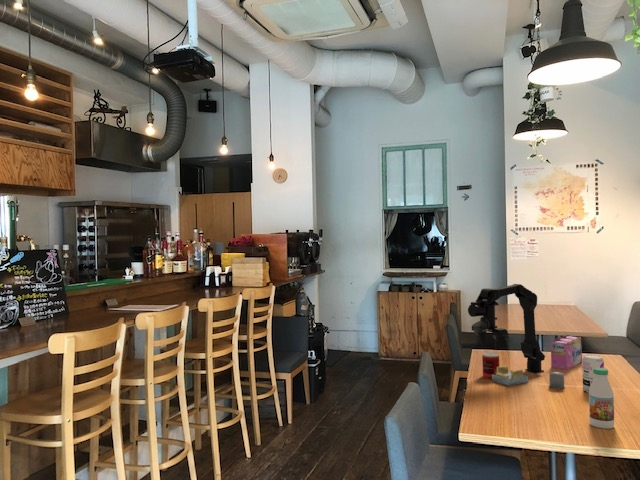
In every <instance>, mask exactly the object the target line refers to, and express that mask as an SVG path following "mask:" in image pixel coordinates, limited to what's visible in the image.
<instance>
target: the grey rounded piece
mask: <svg viewBox="0 0 640 480" xmlns="http://www.w3.org/2000/svg"><path fill="white" fill-rule="evenodd" d="M548 374H549V377H548V378H549V380H548V381H549V388H552V389H554V390H555V389H556V390H563V389H565V373H563V372H560V371H550V372H549V373H548Z"/></svg>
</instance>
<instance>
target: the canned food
mask: <svg viewBox="0 0 640 480" xmlns="http://www.w3.org/2000/svg"><path fill="white" fill-rule="evenodd" d="M481 358H482V360H481V361H482V376H483V378H485V379H489V380H492V374H496V372H497V367H500V354H499V353H496V352H490V351H489V352H483V353H482V357H481Z"/></svg>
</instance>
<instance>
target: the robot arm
mask: <svg viewBox="0 0 640 480" xmlns="http://www.w3.org/2000/svg"><path fill="white" fill-rule="evenodd" d="M513 294H514V296H515V297H516V298H517V299H518V301H519V306H520V307H521V308H522V311H523V312H522V313H523V324H524V325H523V327H524V328H523V329H524V340H523V341H521V342H520V350H521V352H522V355H523V357H524V359H526V368H525V369H524V371H527V372H529V373H532V374H533V373H534V374H538V373H543V372H545V371H544V370H543V369H542V361H545V358H546V355H545V353H543V352H542V350H541V346H540V343H539V342H538V340H537V338H536V336H537V335H536V321H535V309H536V307H537V306H538V295H537V294H536V293H535V292H533V291H531V290H530V289H528V288H526V287H525V286H524V285H523V284H520V283H513V284H510V285H506V286H502V287H498V288H482V289H481V290H480V293H479V294H478V295H477V298H476V300H475V301H471V302H470V305H468V308H467V314H468V315H469V316H470V317H472V318H473V317H479V319H480V320H478V321H477V322H475V323H473V324H472V325H471V331H473V332H474V333H475V334H476V335H477V337H478V339H479V342H480V345H481V347H485V345H486V344H485V343H486V338H487V337H486V336H487V332H489V333H491V334H492V338H493V339H494V350H497V351H498V350H499V348H500V346H501V344H502V342H503V340H504V338H505V337H507V336H509V332H508V330H507V329H506V328H502V327H500V328H499V327H498V325H496V320H498V316H496V306H499V305H500V304H499V303H498V300H499V299H500V298H501V297H506V296H509V295H513Z"/></svg>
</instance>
